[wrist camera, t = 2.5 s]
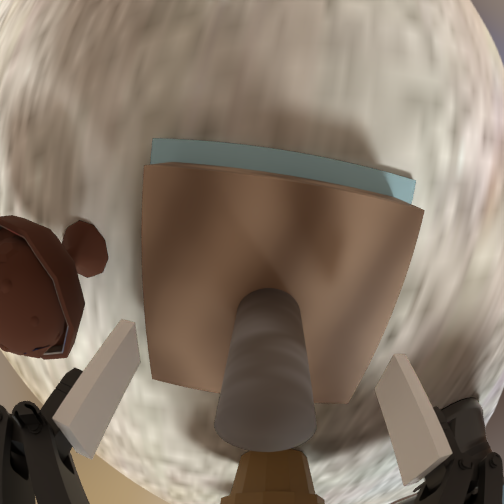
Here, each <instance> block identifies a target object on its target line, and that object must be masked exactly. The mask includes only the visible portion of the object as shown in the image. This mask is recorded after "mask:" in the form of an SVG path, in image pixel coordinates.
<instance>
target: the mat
mask: <svg viewBox="0 0 504 504" xmlns="http://www.w3.org/2000/svg"><path fill="white" fill-rule="evenodd" d="M166 162H182V163H194V164H205V165H215V166H224V167H233V168H242V169H249V170H257V171H264V172H271V173H278V174H284V175H290V176H296V177H302V178H308V179H313V180H319V181H324V182H329V183H334V184H339V185H344V186H349V187H354V188H358V189H363V190H367V191H371V192H376V193H380V194H384V195H388V196H392V197H395V198H398V199H400V200H402V201H405V202H407V203H409V204H411V203H412V199H413V194H414V189H415V184H416V180H412V179H409V178H406V177H402V176H399V175H395V174H392V173H388V172H385V171H381V170H377V169H373V168H369V167H365V166H361V165H357V164H353V163H348V162H344V161H339V160H335V159H330V158H325V157H320V156H315V155H310V154H304V153H298V152H293V151H286V150H280V149H273V148H266V147H259V146H251V145H243V144H234V143H224V142H213V141H201V140H185V139H163V138H153V141H152V151H151V162H150V165H151V164H158V163H166Z"/></svg>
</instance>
